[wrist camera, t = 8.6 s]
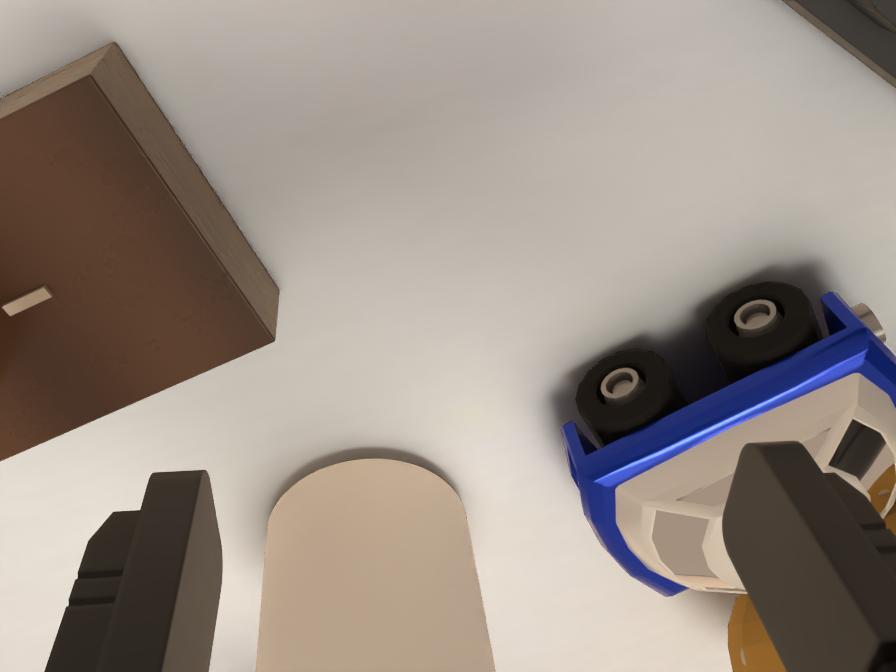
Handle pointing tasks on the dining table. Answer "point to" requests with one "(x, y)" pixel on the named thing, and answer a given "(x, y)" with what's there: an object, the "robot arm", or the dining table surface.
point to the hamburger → (761, 630)
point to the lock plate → (110, 256)
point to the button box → (857, 29)
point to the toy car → (730, 430)
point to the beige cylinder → (371, 575)
